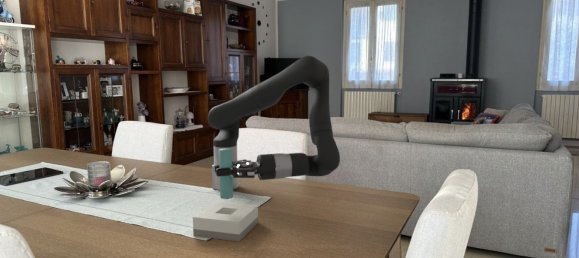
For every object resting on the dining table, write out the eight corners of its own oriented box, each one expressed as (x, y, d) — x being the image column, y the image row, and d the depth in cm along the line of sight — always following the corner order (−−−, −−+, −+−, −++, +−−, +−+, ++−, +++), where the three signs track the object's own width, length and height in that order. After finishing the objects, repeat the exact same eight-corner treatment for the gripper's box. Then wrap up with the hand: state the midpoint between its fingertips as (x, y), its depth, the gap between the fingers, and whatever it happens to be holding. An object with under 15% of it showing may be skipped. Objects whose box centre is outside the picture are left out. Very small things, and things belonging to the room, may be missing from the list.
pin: (218, 198, 111) (216, 150, 109) (223, 194, 114) (222, 148, 112) (229, 199, 110) (228, 151, 108) (235, 195, 113) (233, 148, 111)
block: (193, 235, 109) (192, 216, 108) (216, 218, 122) (216, 201, 121) (239, 241, 105) (238, 222, 104) (258, 222, 118) (257, 205, 117)
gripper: (268, 149, 121) (212, 153, 116) (280, 158, 108) (217, 163, 103) (268, 172, 122) (213, 177, 117) (280, 184, 109) (218, 190, 104)
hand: (215, 170), depth 110 cm, fingers closed on pin, 3 cm apart
